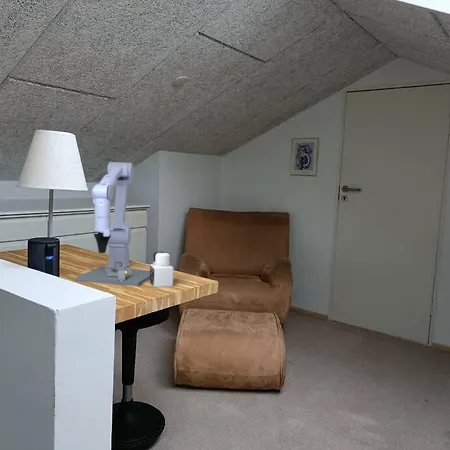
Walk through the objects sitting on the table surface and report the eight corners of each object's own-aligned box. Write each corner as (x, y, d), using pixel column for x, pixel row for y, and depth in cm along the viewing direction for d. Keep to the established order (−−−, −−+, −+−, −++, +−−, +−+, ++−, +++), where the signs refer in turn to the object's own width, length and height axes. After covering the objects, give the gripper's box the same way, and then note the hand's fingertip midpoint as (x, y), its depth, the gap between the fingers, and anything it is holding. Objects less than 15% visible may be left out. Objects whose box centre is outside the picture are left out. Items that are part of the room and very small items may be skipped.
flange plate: (104, 271, 175) (105, 262, 175) (128, 270, 178) (129, 261, 178) (108, 280, 161) (108, 270, 160) (134, 279, 164) (134, 270, 164)
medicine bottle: (149, 282, 166) (150, 250, 165) (168, 281, 169) (169, 250, 167) (153, 287, 160) (154, 254, 158) (173, 286, 162) (174, 253, 161)
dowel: (125, 278, 167) (125, 270, 167) (129, 278, 167) (129, 270, 166) (123, 278, 165) (123, 270, 165) (127, 279, 165) (127, 271, 165)
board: (101, 269, 185) (101, 255, 184) (156, 274, 180) (157, 260, 180) (76, 280, 165) (76, 265, 164) (137, 286, 161) (138, 270, 160)
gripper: (118, 218, 163) (117, 255, 164) (108, 214, 175) (108, 248, 177) (98, 219, 159) (97, 256, 161) (90, 214, 172) (89, 249, 174)
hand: (102, 252), depth 169 cm, fingers closed
